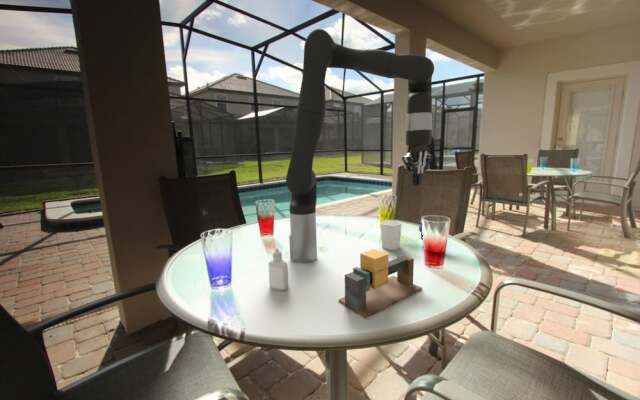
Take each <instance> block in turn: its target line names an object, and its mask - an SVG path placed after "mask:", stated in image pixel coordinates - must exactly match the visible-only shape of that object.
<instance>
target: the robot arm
mask: <svg viewBox="0 0 640 400" xmlns="http://www.w3.org/2000/svg"><path fill="white" fill-rule="evenodd" d="M302 64H303V65H302V66H303V67H302V68H303V69H302V78H301V79H302V80H301V84H300V89H299V98H298V103H297V107H296V108H297V109H296V116H295V122H294V123H295V124H294V132H293V139H292V140H293V142H292V153H291V156H290V161H289V164H288V169H287V171H286V172H287V173H286V177H285V183H286V187H287V189H288V190H289V192H290V193H291V198H290V202H289V224H290V225H289V227H290V233H289V234H288V236H289V237H288V238H289V239H288V242H289V260H290V261H293V262H296V263H310V262H313V261H315V260H317V259H318V246H317V239H318V238H317V214H316V213H317V211H316V209H317V194H318V193H317V177H316V173H315V172H314V171H315V170H313V162H314V156H315V152H316V149H317V146H318V145H319V141H320V139H321V136H322V132H323V127H324V122H325V118H326V117H325V116H326V108H327V107H326V106H327V105H326V102H327V101H326V89H325V88H326V86H325V85H326V83H325V82H326V76H327V75H326V74H327V70H328V68H330V69H331V68H332V69H342V70H343V69H345V70H352V71H357V72H362V73H366V74H370V75H374V76H378V77H382V78H387V79H396V78H397V79H398V78H399V79H403V80H407V88H408V89H407V91H408V93H407V94H408V97H407V105H406V107H407V108H406V111H407V113H406V120H405V145H406V146H408V147H407V152H406V155H403V156H402V157H401V158H402V159H401V160H402V162H403V163H404V166H405V168H406V169H407V172H408V173H411V174H412V179H411V180H412V181H411V182H412V186H416V187H417V186H418V187H419V186H421V185H422V181H423V180H422V179H423V173H424V172H426V171H427V170H428V168H429V166H430V163H431V161H432V159H433V158H434V157H433V155H432V154H430V153H429V148H428V145H431V144H432V135H433V132H432V131H433V118H432V117H433V116H432V110H433V97H432V92H431V91H432V79H433V75H434V73H435V65H434V62H433V61H432V60H431V59H430V58H429V57H426V56H424V55H419V54H401V53H396V52H392V51H387V50H384V49H383V50H382V49H373V48H361V49H359V48H352V47H347V46H345V45H342V44H339V43H337V42H336V41H334V39H333V37H332V35H331V34H330V33H328V32H327V31H326V30H325V29H323V28H316V29H314V30H312V31H311V32H310V33H309V34H308V35H307V37H306V39H305V41H304V47H303V63H302Z"/></svg>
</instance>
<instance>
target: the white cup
mask: <svg viewBox="0 0 640 400" xmlns="http://www.w3.org/2000/svg"><path fill="white" fill-rule="evenodd" d="M402 223H403V222H401V221H398V220H395V219H394V220H392V219H388V220H383V221H380V237H381V248H383V249H384V250H390V251H395V250H396V251H397V250H398V249H400V243H401V234H402Z"/></svg>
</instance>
